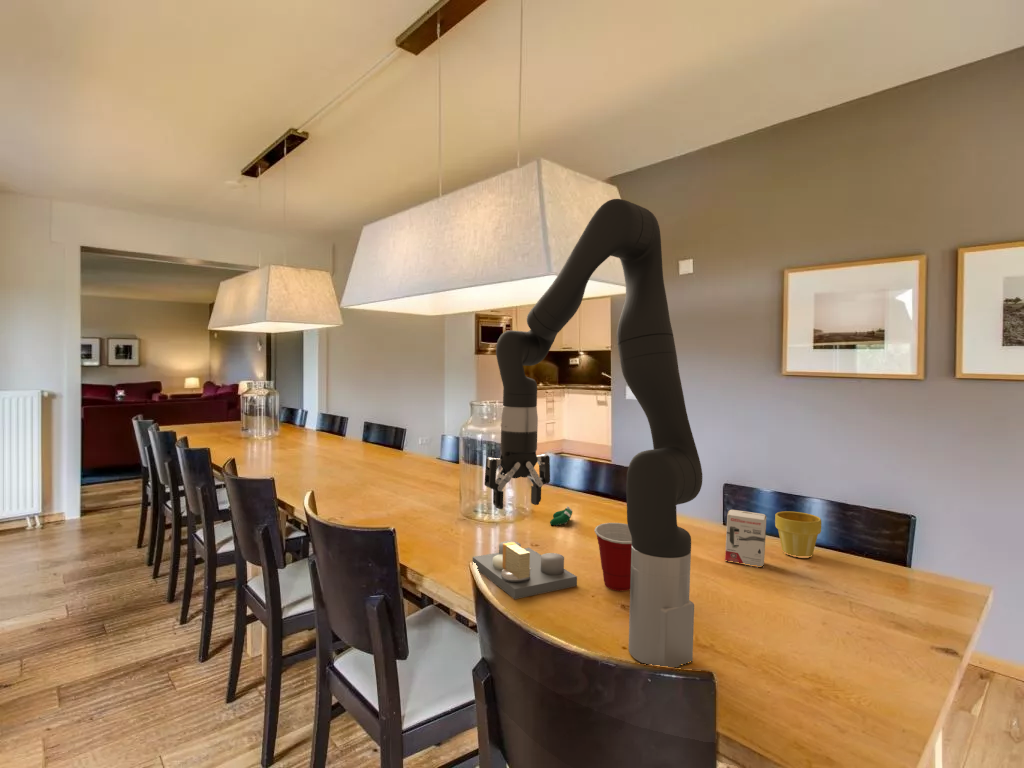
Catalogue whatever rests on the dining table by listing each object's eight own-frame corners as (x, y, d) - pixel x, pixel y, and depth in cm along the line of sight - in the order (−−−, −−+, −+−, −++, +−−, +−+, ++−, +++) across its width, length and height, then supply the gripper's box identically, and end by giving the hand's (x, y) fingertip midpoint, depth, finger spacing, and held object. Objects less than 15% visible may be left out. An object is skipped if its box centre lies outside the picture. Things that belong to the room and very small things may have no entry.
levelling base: (576, 585, 114) (577, 562, 114) (514, 599, 107) (515, 574, 107) (528, 555, 132) (529, 535, 131) (472, 565, 124) (472, 543, 124)
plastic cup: (606, 599, 108) (608, 539, 107) (584, 578, 118) (586, 524, 118) (655, 594, 111) (656, 536, 110) (629, 574, 121) (631, 521, 121)
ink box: (724, 562, 130) (725, 513, 130) (726, 556, 134) (728, 509, 134) (763, 569, 126) (765, 519, 126) (764, 562, 130) (766, 514, 130)
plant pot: (764, 549, 140) (766, 511, 140) (797, 546, 143) (798, 509, 143) (795, 563, 130) (797, 523, 130) (830, 560, 133) (831, 520, 133)
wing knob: (536, 580, 111) (537, 551, 111) (511, 585, 108) (511, 555, 108) (519, 568, 117) (520, 540, 117) (495, 573, 114) (495, 544, 114)
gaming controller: (557, 533, 156) (572, 519, 155) (548, 523, 157) (563, 509, 156) (560, 524, 165) (575, 511, 164) (552, 514, 166) (566, 502, 165)
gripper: (496, 431, 105) (494, 514, 105) (558, 429, 112) (556, 507, 112) (480, 427, 111) (478, 505, 112) (539, 425, 118) (537, 498, 119)
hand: (517, 506), depth 112 cm, fingers open, 8 cm apart
